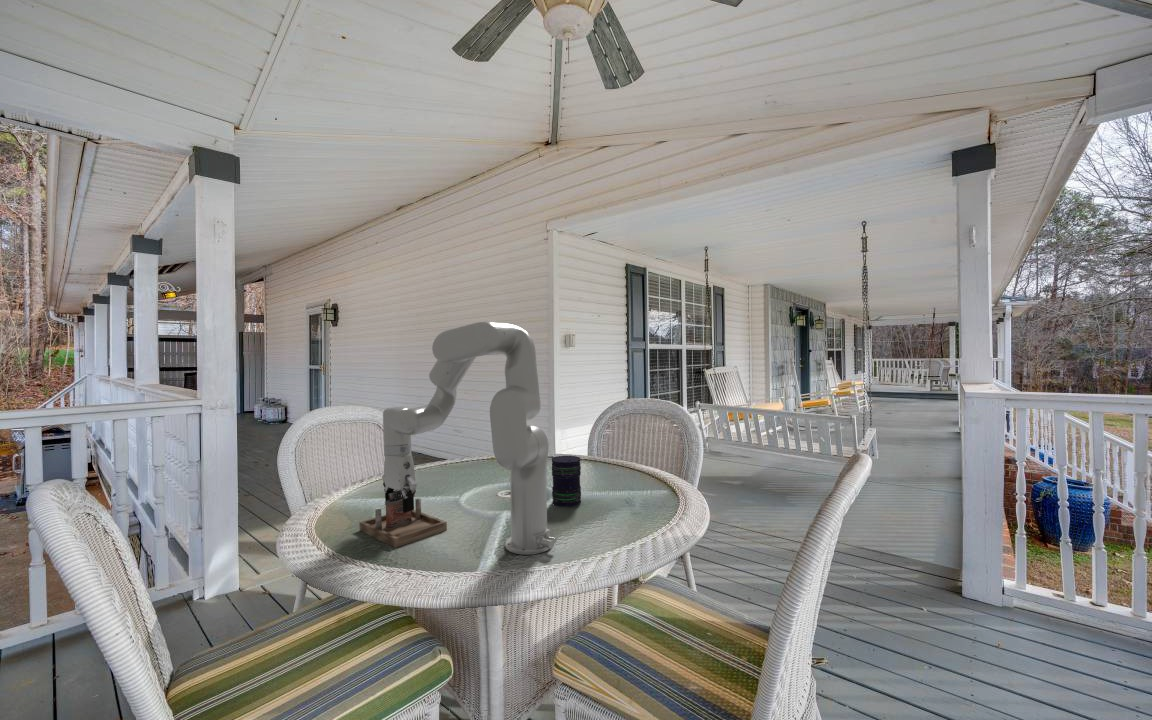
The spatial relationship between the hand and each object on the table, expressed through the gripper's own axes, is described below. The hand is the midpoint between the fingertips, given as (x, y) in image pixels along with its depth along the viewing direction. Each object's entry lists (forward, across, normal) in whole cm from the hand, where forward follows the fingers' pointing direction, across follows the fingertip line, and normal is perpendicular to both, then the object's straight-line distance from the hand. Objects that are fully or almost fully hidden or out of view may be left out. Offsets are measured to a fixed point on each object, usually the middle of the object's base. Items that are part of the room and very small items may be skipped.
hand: (399, 508), depth 143 cm
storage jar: (+7, -23, -48) cm, 53 cm away
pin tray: (+6, -2, 0) cm, 6 cm away
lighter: (+5, +1, 0) cm, 5 cm away
